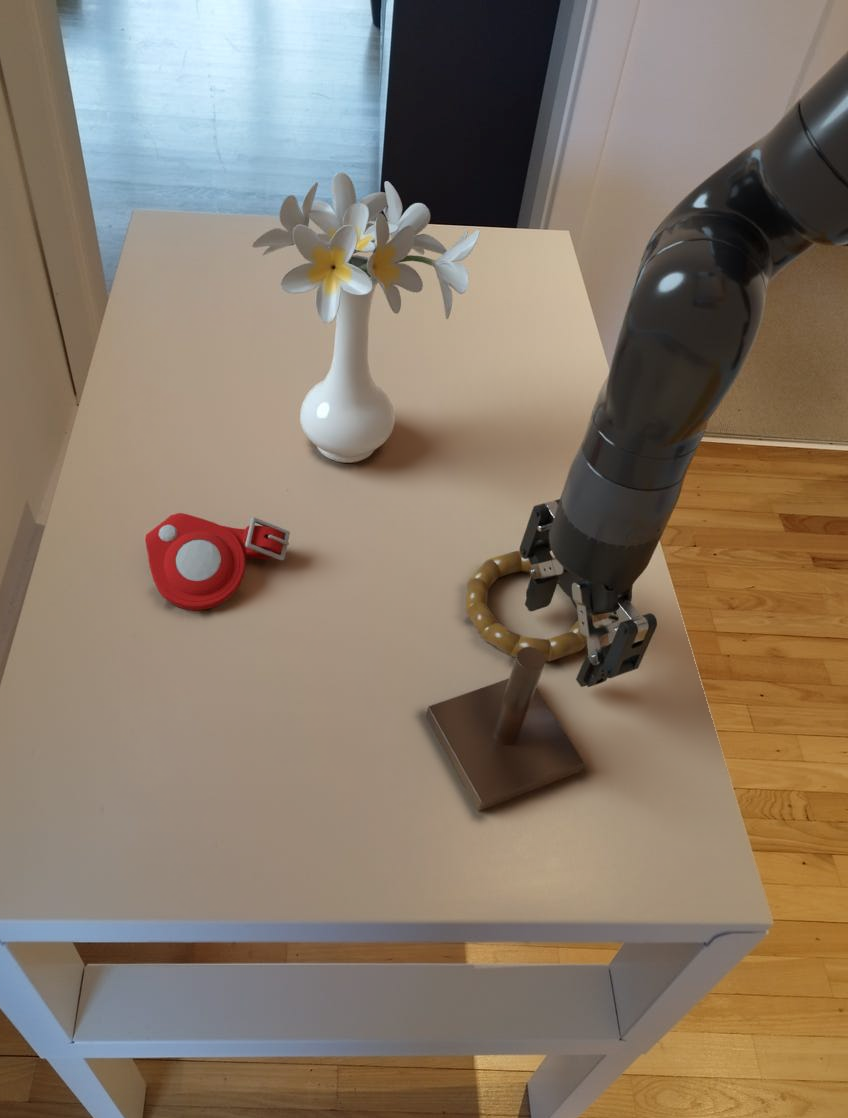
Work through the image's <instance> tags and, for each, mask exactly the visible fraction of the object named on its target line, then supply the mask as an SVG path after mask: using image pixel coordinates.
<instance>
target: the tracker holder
mask: <svg viewBox="0 0 848 1118" xmlns="http://www.w3.org/2000/svg"><path fill="white" fill-rule="evenodd" d="M256 524H258V525H256ZM290 534H291V532H290V530H287V529H285V528H282V527H280V526H277V525H275V524H273V523H269V522H267V521H265V520H262V519H259V518H257V517H255V516H252V517H251V519H250V522H249V525H247V526H246V527H245V528H236V527H230V526H227V525H222V524H218V523H215V522H214V521H212V520H211V521H210V520H207V519H205V518H201V517H198V516H196V515H195V516H194V515H191V514H188V513H183V512H178V513H174V514H170V515H169V516H168V517H167V518H166V519H164V520H163V521H162V522H160V523H159V524H158V525H157V526H156V527H154V528H152V529H151V530H149V532H147V533H146V534H145V536H144V537H145V538H144V541H145V546H146V552H147V557H148V566H149V569H150V573H151V575H152V580H153V582H154V585H155V587H156V589H157V590H158V591H157V592H159V594H160V596H161V597H162V598H163V599H165V600H166V601H167V602H169V603H170V604H172V605H173V606H176V607H177V608H182V609H184V610H189V611H202V610H203V611H204V610H209V609H212V608H215V607H218V606H219V605H221V604H223V603H224V602H226V601H227V600H228V599H230V598H231V597H232V596H233V595H234V594H235V593H236V592H237V590H238V588H239V587H240V585H241V583H242V582H243V581H242V580H243V578H244V575H245V571H246V559H254V560H256V559H260V560H267V559H268V560H273V559H276V560H279V561H284V560H285V558H286V552H287V549H288V546H289V545H290V542H289V539H290Z"/></svg>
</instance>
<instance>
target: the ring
mask: <svg viewBox="0 0 848 1118" xmlns="http://www.w3.org/2000/svg"><path fill="white" fill-rule="evenodd" d="M551 556H552V558H555V556H554V555H553V554H551ZM530 565H531V563H530V561H529V559H528V558H527V559H523V558H522V556H521V554H520V550H515V551H511V552H508V553H504V554H501V555H498V556H493V557H491V558H488V559H487V560H485V561H484V563H483V564H482V565H481V566H480V567H479V568H478V569H477V570H476V571H475V573H473V575H472V576H471V577H470V578H469V579H468V581H467V584H466V600H465V612H466V614H467V616H468V618H469V619H470V621H471V622H472V624H473V625H474V627H475V629H476V630H477V631H478V633H479V635H480V637H481V638H482V639H483V640H484V641H486V642H488V643H490V644H491V645H492V646H494V647H496V648H498V649H500V650H501V651H503V652H504V653H506V654H507V655H510V656H511V657H513V658H516V656H517V653H518V652H519V650H521V649H522V648H525V647H533V648H536V649H538V650H540V651H541V652H542V653H543V654H544V656H545V662H551V661H555V660H557V659H561V658H563V657H566V656H570V655H573V654H575V653H578V652H581V651H582V650H583V649H584V648H585V646H587V640H586V636H584V635H582V634H581V633H580V630H579V621H578V619H577V620H576V621H575V623H574V624H573V625H572V627H571V628H570V629H569V630H568V632H565V633H562V634H559V635H557V636H553V637H551V638H546V639H545V638H538V637H531V636H530V637H529V636H521V635H519V634H518V633H516V632H515V631H513V630H511V629H509V628H507V627H506V626H504V625H503V624H501V623H499V621H498V620H497V619H496V617H495V616H494V614H493V612H492V611H491V609H489V606H488V591H489V589H490V588H491V586H492V585H493V584H494V583H495V582H496V581H497V580H498V579H499V578H501V577H504V576H507V575H510V574H513V573H516V572H526V573H529V566H530ZM558 583H560V581H559V580H558ZM592 617H593V623H594V622H597V621H600V620H601V614H599V615H592Z"/></svg>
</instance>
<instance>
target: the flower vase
mask: <svg viewBox="0 0 848 1118" xmlns="http://www.w3.org/2000/svg"><path fill="white" fill-rule="evenodd" d="M318 186H319V182H315V183H314V184H313V185H312V186H311V187H310V188H309V190H308V191H307V192H306V194H305V196H304V198H303V200H302V203H301V207H300V205H299V202H298V200H297V198H296V196H295V195H293V194H289V195H287V197H286V198H285V199H284V200H283V201H282V204H281V206H280V209H279V214H278V216H279V217H278V218H279V222H280V224H281V226H282V227H283V228H280V227H277V228H275V227H274V228H272V229H269V230H267V231H265V232H264V233H262V234H261V235H259V237H257V238H256V239H255V240H254V241H253V243H252V248H253V249H255V248H264V247H265V249H264V251H263V252H262V254H261V255H262V256H266V255H269V254H270V253H273V252H276V251H278V250H281V249H283V248H284V249H285V248H287V247H293V246H295V247H296V249H297V251H298V252H299V254H300V255H301V256H302V257H303V259H305V261H308V262H306V263H301V264H299V265H296V266H293V267H292V268H291V269H289V270H287V271H286V272H285V273H284V275H283V276H281V277H282V278H281V279H280V286H281V289H282V291H284V292H285V293H288V294H295V295H296V294H304V293H306V292H310V291H312V290H314V289H316V291H315V308H316V313H317V315H318V317H319V319H320V320H321V322H323V323H325V324H330V323H332V322H333V321H334V320H335V330H334V344H333V353H332V360H331V364H330V368H329V370H328V372H327V374H326V376H325V378H324V379H322V380H321V381H319V382H317V383H316V384H315V385H314V386H313V387H312V388H311V389H310V390H309V391H308V392H307V393H306V395H305V396H304V399H303V401H302V404H301V406H300V410H299V423H300V426H301V428H302V431H303V433H304V435H305V436H306V437H307V438H308V439H309V441H310V442H311V443H313V445H315V446H316V448H317V450H318V451H319V452H320V453H321V455H322V456H324V457H326V458H327V459H330V460H332V461H334V462H338V463H343V464H345V463H347V464H348V463H350V464H352V463H358V462H361V461H364V460H366V459H367V458H369V457H370V456H371V455H372V454H373V453H374V452H375V450H377V449H378V448H380V447H381V446H383V445H384V444H385V442H386V441H387V440H388V439H389V437H390V436H391V435H392V433H393V430H394V427H395V425H396V423H395V422H396V417H395V409H394V406H393V403H392V401H391V399H390V398H389V395H388V394H387V393H386V392H385V391H384V389H383V388H382V387H381V386H380V385H379V384H377V383H376V382H375V380H374V379H373V376H372V374H371V370H370V364H369V337H370V335H369V334H370V314H371V308H372V304H373V299H374V295H375V291H376V288H377V285H378V284H379V286H380V287H381V289H382V291H383V294H384V297H385V298H386V301H387V303H388V305H389V307H390V310H391V311H392V313H393V314H397V315H398V314H399V313H400V311H401V309H402V297H401V293H400V290H399V287H400V288H402V289H404V290H406V291H409V292H411V293H420V292H421V291H422V290H423V287H424V283H423V280H422V278H421V276H420V275H419V273H418V272H417V270H416V269H414V268H413V267H412V266H411V265H409V264H407V263H405V262H417V263H423V264H425V265H427V266H430V267H433V268H434V271H435V274H436V277H437V280H438V284H439V287H440V291H441V296H442V300H443V307H444V314H445V319H446V320H449V318H450V315H451V311H452V306H453V291H452V289H453V290H454V291H455V292H456V293H458V294H460V295H463V294H465V293H466V291H467V290H468V287H469V284H470V275H469V270H468V269H467V267H466V266H465V265H463V264H462V263H459V262H461V261H463V260H465V259H466V258H467V257H468V256H469V255H470V254H471V252H473V249H474V247H475V246H476V244H477V241H478V240H479V237H480V233H481V232H480V231H481V230H480V229H476V230H474V232H472V233H470V235H468V233H469V231H468V230H466V231H464V233H463V235H461V237H460V238H459V239H458V240H457V241H456V242H455V244H454V245H452V246H451V248H448V250H447V248H446V247H445V246H444V245H443V243H441V242H440V241H439V240H438V239H437V238H435V237H434V236H432V235H430V234H427V233H422V232H423V230H424V229H425V228H426V227H427V226H428V225H429V224H430V221H431V211H430V209H429V207H427V205H425V204H424V203H422V202H415V203H412V204H411V205H410V206H409V207H407V208H406V210H405V211H404V212H403V209H404V208H403V203H402V200H401V197H400V195H399V193H398V192H397V190H396V188H395V187H394V186H393V185H392V183H391V182H389V181H388V180H387V181H386V180H385V181H384V191H385V192H383V191H378V192H373V193H370V194H367V195H366V196H365V197H363V198H362V199H361V200H360V201H359V202H357V193H356V189H355V185H354V183H353V181H352V179H351V178H350V176H349V175H348V174H346V173H345V172H343V171H341V172H337V173H335V175H334V176H333V178H332V180H331V187H330V190H331V191H330V194H331V200H332V205H331V204H330V203H328V202H326V201H323V200H319V199H315V197H316V194H317V190H318ZM382 212H383V213H382ZM374 218H375V224H374V223H372V222H371V220H372V219H374ZM310 220H311V221H312V222H313V223H314V224H315V225H316V226H317V227H318V228H319V229H320V230H321V231H323V232H324V233H317V232H316V231H315V230H313V229H312V228H310V227H309V226H310ZM390 236H391V238H390ZM411 250H413V251H415V252H416V253H418V254H420V255H413V254H412V255H411V254H410V252H411ZM425 251H428V252H429V251H430V252H432V253H436V254H439V255H441V256H440V257H439V258H437V259H432V258H429V257H426V256H423V255H425ZM371 252H372V254H371V255H370V256H369V257H367V256H365V255H357V253H371ZM421 255H422V256H421Z"/></svg>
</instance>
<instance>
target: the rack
mask: <svg viewBox="0 0 848 1118" xmlns="http://www.w3.org/2000/svg"><path fill="white" fill-rule="evenodd" d="M545 665H546V661H545V656H544V654H543V653H542V652H541V651H540V650H538V649H536V648H533V647H525V648H522V649H521V650H519V652H518V653H517V656H516V657H515V659H514V662H513V666H512V668H511V672H510V675H509V678H507V679H504V680H500V681H498V682H495V683H492V684H489V685H486V686H484V687H481V688H478V689H475V690H472V691H469V692H467V693H463V694H461V695H460V694H459V695H457V696H454V697H452V698H449V699H445V700H443V701H440V702H438V703H435V704H432V705H429V706H427V709H426V714H425V718H426V719H427V721H428V724H429V725H430V727H431V729H432V731H433V732H434V734H435V736H436V738H437V739H438V741H439V743H440V745H441V747H442V749H443V750H444V752H445V754H446V756H447V758H448V759H449V761H450V763H451V765H452V767H453V768H454V770H455V772H456V774H457V776H458V778H459V779H460V781H461V783H462V785H463V787H464V789H465V790H466V792H467V794H468V796H469V798H470V799H471V801H472V803H473V805H474V806H475V809H476V810H477V812H481V811H483V810H485V809H488V808H490V807H493V806H496V805H498V804H501V803H503V802H505V801H508V800H511V799H513V798H516V797H518V796H522V795H523V794H527V793H529V792H531V791H534V790H536V789H539V788H542V787H545V786H548V785H550V784H552V783H554V782H557V781H559V780H562V779H564V778H568V777H570V776H572V775H575V774H578V773H580V772H581V770H582V768H583V767H584V764H585V760H584V759H583V757H582V756H581V754H580V753H579V752H578V750H577V748H576V747H575V745H574V744H573V742H572V741H571V739H570V737H569V736H568V734H567V733H566V731H565V730H564V729H563V727H562V725H561V724H560V723H559V721H558V719H557V718H556V716H555V715H554V713H553V711H552V710H551V707H549V705H548V704H547V702H546V700H545V699H544V698H543V696H542V695H541V693H540V691H539V690H538V688H537V687H538V684H539V682H540V679H541V675H542V673H543V670H544V667H545Z"/></svg>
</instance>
